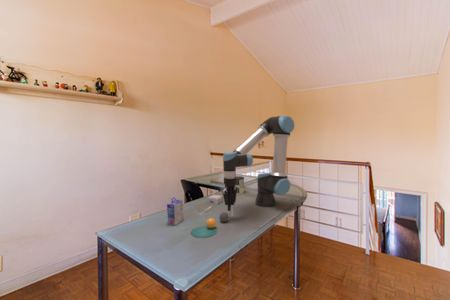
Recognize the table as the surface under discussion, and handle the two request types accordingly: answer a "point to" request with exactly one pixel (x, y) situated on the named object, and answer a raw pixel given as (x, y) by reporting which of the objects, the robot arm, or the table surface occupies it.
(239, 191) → the coffee can
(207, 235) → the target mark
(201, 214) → the crossbow
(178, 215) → the ink cartridge box
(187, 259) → the table surface
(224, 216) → the dark grey ball
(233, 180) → the robot arm
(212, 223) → the object ball
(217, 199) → the charger
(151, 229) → the table surface
